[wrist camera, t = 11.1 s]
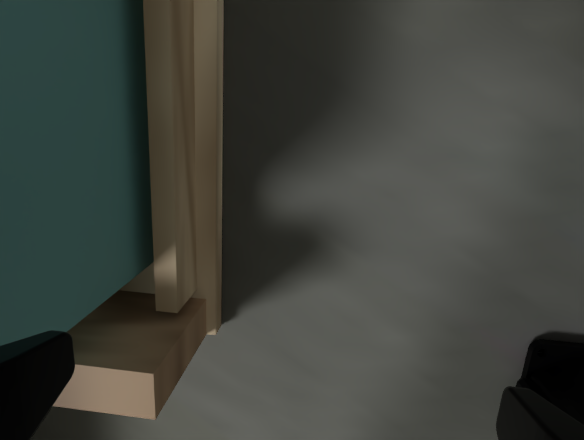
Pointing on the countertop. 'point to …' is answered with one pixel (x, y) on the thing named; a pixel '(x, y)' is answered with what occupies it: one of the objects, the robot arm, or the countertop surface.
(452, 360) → the countertop surface
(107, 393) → the book rack
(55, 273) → the teal book
